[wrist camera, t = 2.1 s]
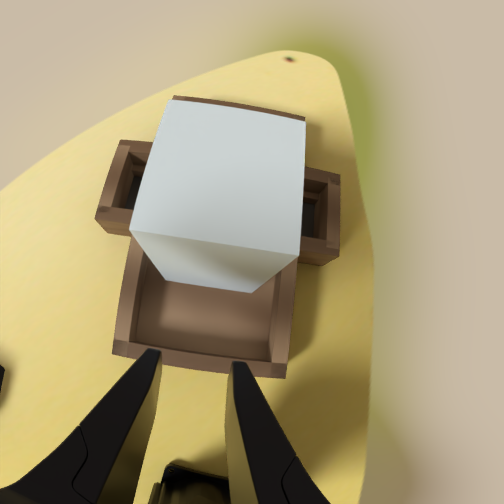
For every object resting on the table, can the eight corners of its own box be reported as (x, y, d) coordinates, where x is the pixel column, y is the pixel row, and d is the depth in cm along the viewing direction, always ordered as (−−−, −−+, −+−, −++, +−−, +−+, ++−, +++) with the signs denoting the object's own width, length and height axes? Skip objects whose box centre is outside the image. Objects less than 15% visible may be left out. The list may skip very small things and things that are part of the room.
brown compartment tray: (312, 374, 22) (328, 380, 19) (87, 342, 20) (70, 343, 17) (325, 145, 27) (338, 125, 24) (144, 115, 25) (139, 92, 22)
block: (251, 293, 21) (298, 255, 11) (165, 280, 21) (128, 229, 10) (261, 212, 23) (305, 122, 12) (181, 200, 22) (168, 99, 12)
